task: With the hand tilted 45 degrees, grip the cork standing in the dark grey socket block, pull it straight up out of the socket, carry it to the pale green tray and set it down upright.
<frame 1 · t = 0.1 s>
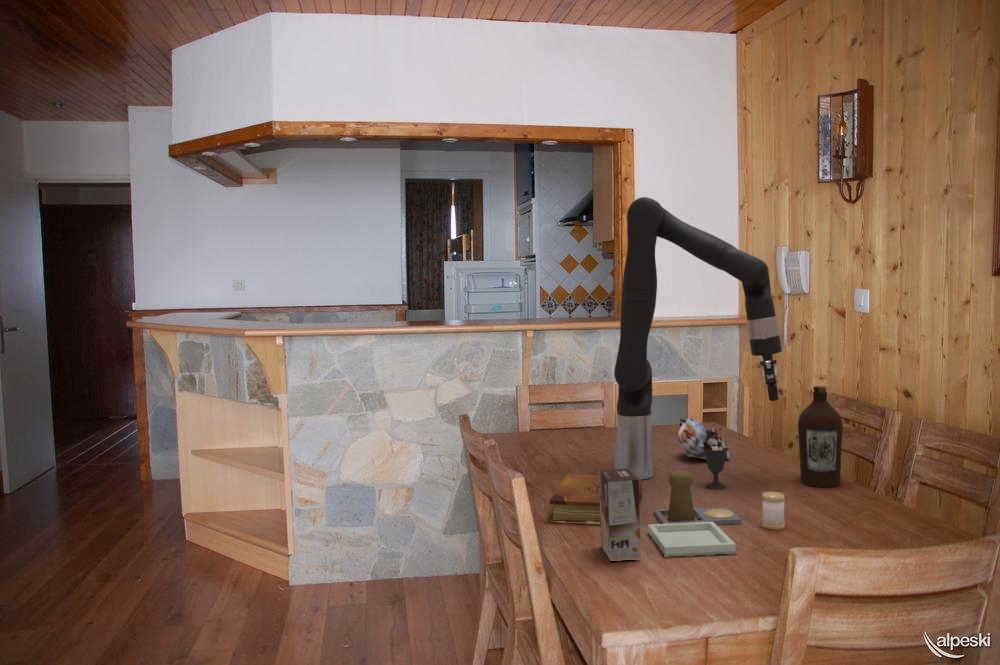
hand: (773, 397, 199), 22 cm above the table, tool pointing down, fingers open, 8 cm apart
lucky cat figurine: (704, 459, 229), on the table
olive oil: (820, 483, 199), on the table
socket block: (681, 519, 173), on the table
sundae: (715, 487, 199), on the table
cork: (681, 520, 173), resting in socket block
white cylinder: (773, 526, 167), on the table
diary: (598, 512, 183), on the table
parts tray: (690, 543, 158), on the table
coffee box: (620, 554, 154), on the table
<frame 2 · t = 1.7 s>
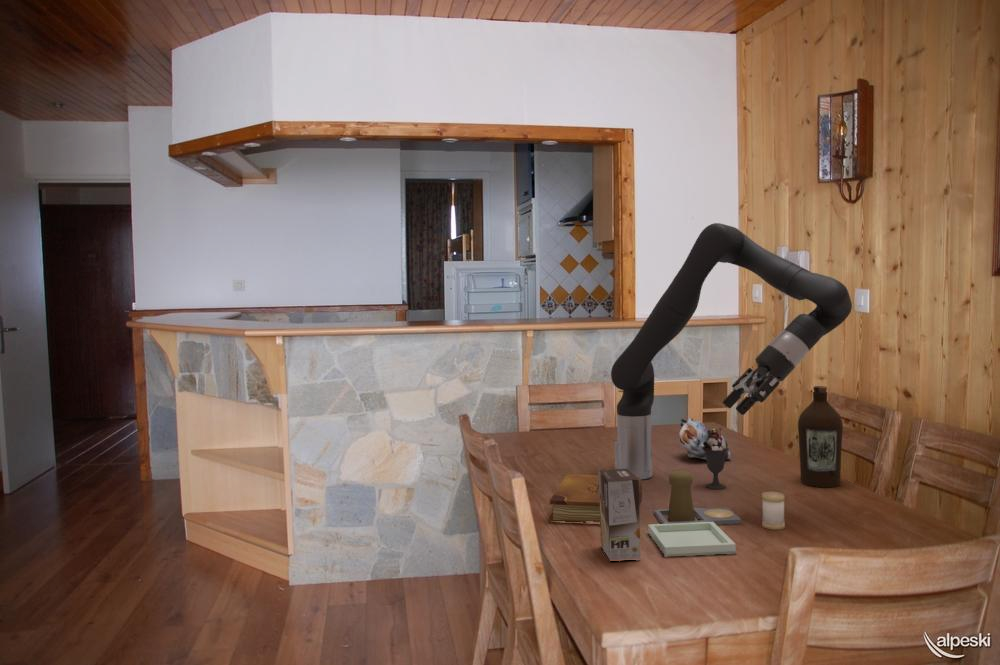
hand: (732, 408, 172), 25 cm above the table, tool tilted 45°, fingers open, 8 cm apart
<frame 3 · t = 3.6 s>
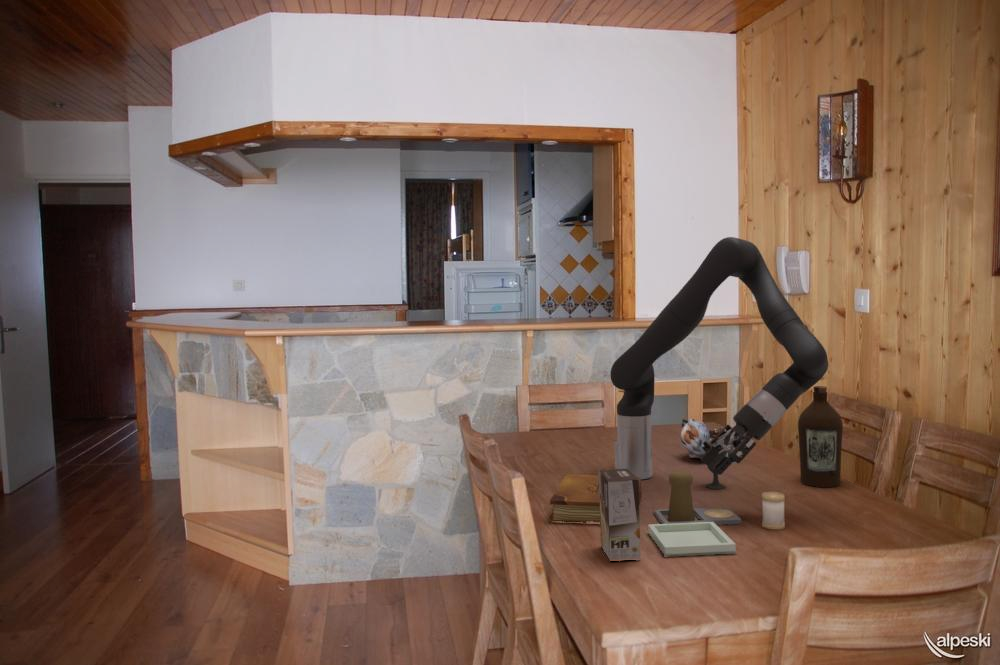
hand: (709, 467, 173), 12 cm above the table, tool tilted 45°, fingers open, 8 cm apart
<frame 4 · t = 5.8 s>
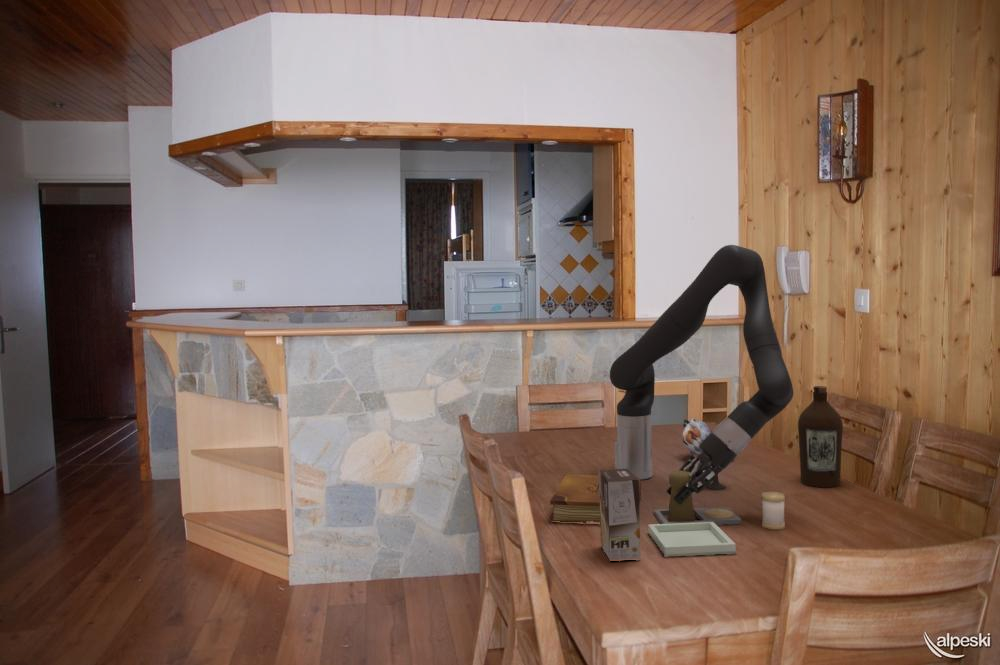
hand: (673, 497, 173), 5 cm above the table, tool tilted 45°, fingers closed on cork, 5 cm apart
cork: (681, 520, 173), resting in socket block, touching gripper
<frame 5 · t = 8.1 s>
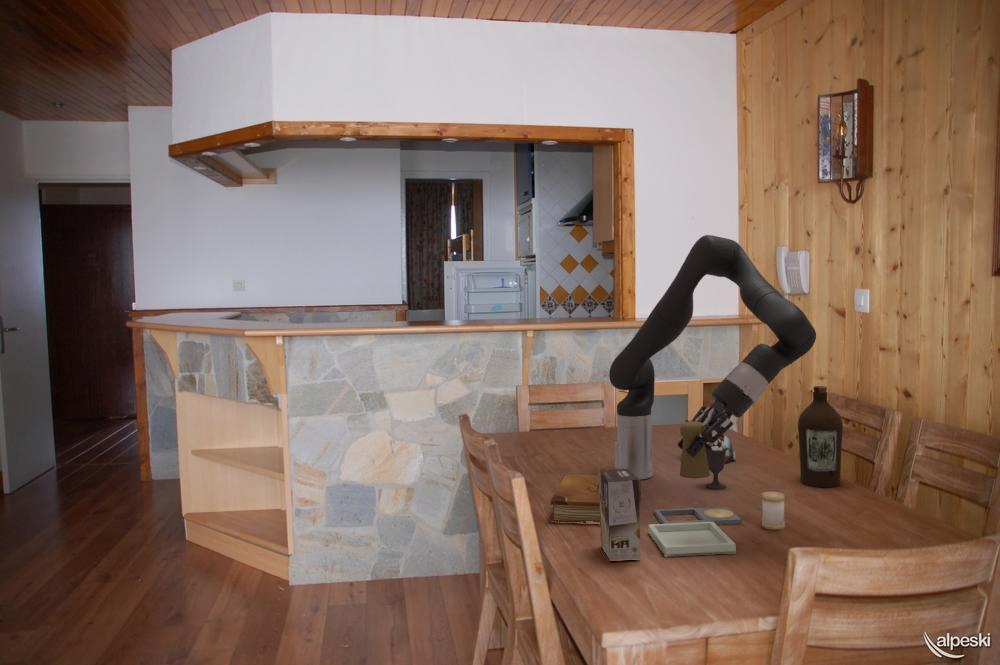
hand: (684, 450, 159), 19 cm above the table, tool tilted 45°, fingers closed on cork, 5 cm apart
cork: (694, 475, 159), point 14 cm above the table, touching gripper
when the fingers open (7 cm above the table, at t = 10.8 s): cork drops 1 cm, resting on parts tray.
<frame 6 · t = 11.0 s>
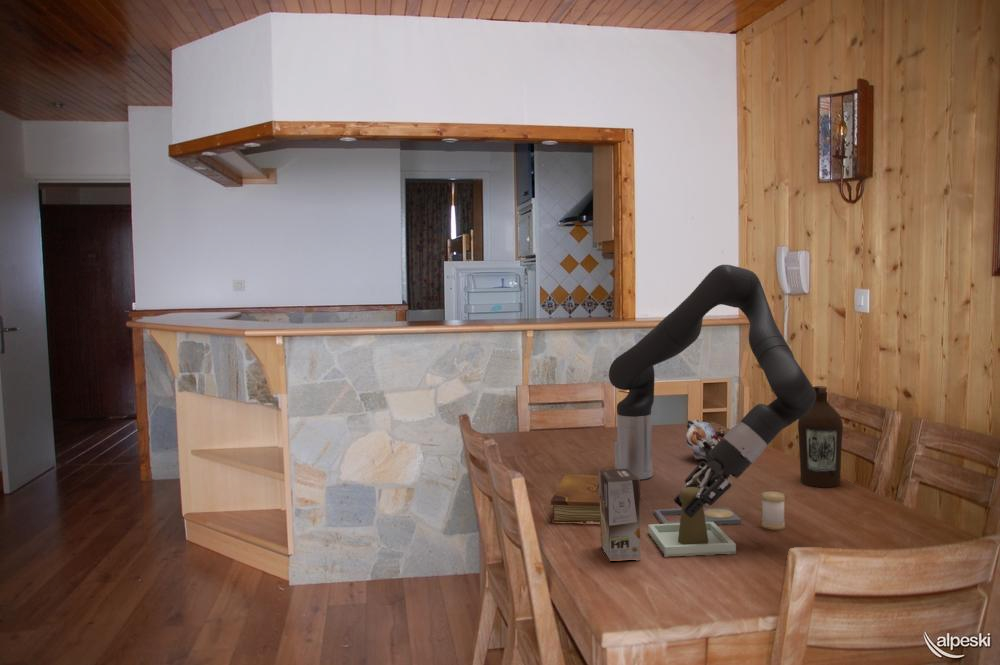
hand: (681, 508, 158), 7 cm above the table, tool tilted 45°, fingers open, 6 cm apart
cork: (693, 542, 158), resting on parts tray, touching gripper
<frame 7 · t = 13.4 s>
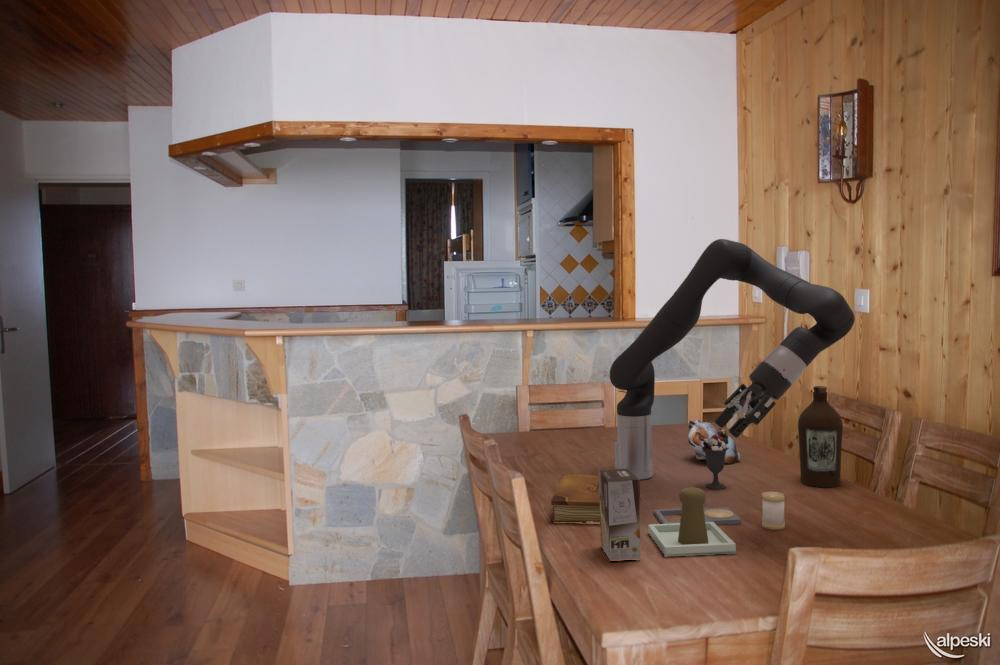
hand: (724, 429, 161), 22 cm above the table, tool tilted 45°, fingers open, 8 cm apart
cork: (693, 542, 158), resting on parts tray
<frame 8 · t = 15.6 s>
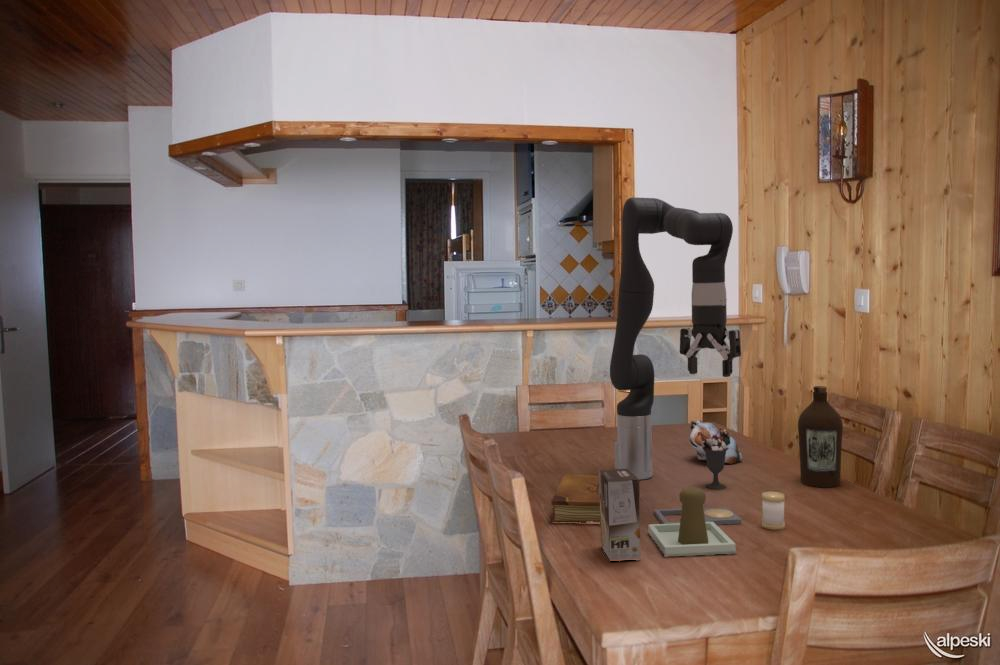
hand: (709, 375, 174), 32 cm above the table, tool pointing down, fingers open, 8 cm apart
at the end: cork inside the target area on the parts tray (0.7 cm from its centre), point 0.4 cm above the parts tray's base; cork tilted 0°; the gripper is holding nothing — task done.
